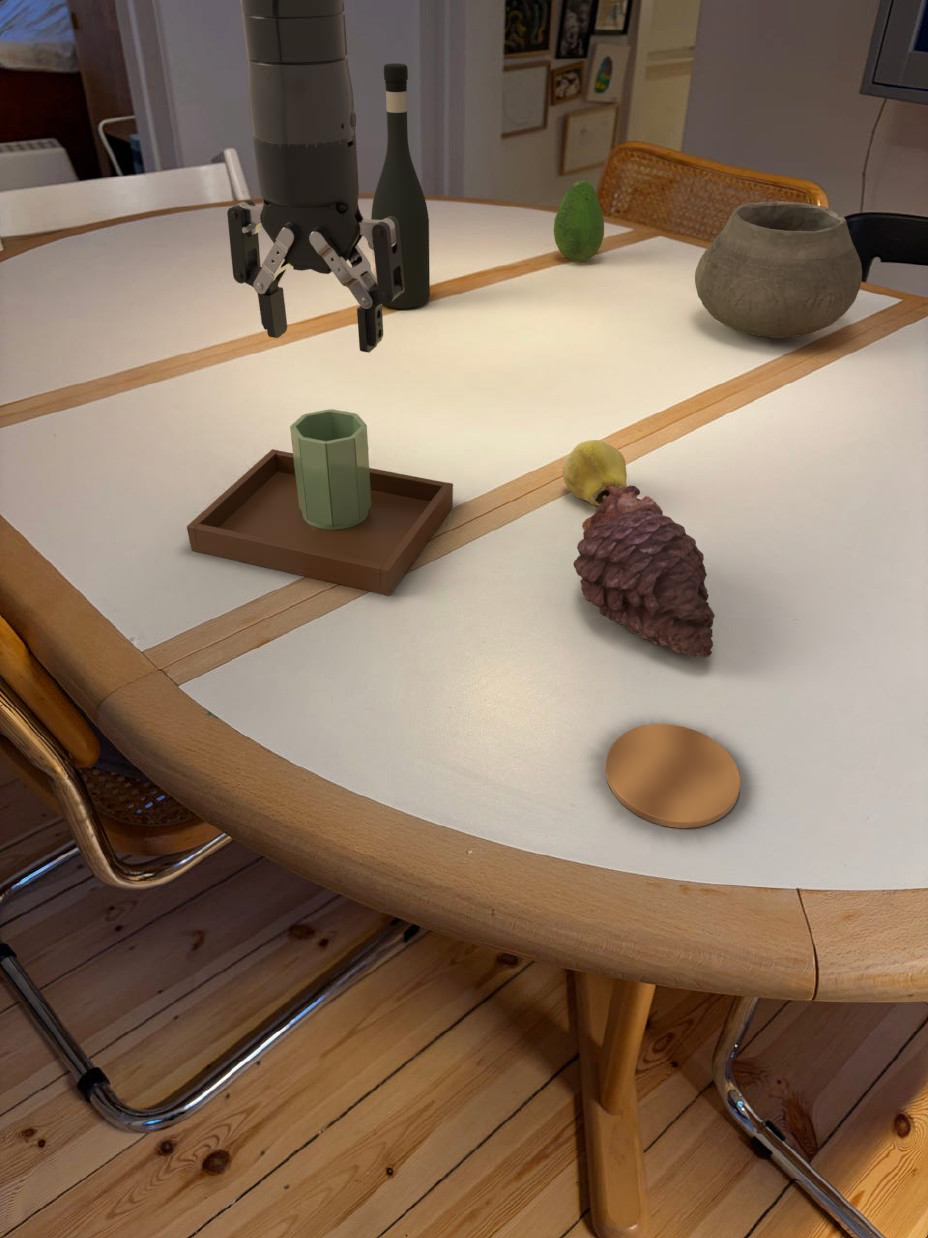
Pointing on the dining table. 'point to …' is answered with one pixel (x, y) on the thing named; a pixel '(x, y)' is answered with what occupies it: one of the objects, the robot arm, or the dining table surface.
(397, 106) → the wine bottle
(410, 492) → the tray
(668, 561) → the pine cone
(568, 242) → the fruit
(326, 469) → the cup
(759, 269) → the clay pot
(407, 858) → the dining table surface
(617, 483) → the fruit
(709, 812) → the coaster
